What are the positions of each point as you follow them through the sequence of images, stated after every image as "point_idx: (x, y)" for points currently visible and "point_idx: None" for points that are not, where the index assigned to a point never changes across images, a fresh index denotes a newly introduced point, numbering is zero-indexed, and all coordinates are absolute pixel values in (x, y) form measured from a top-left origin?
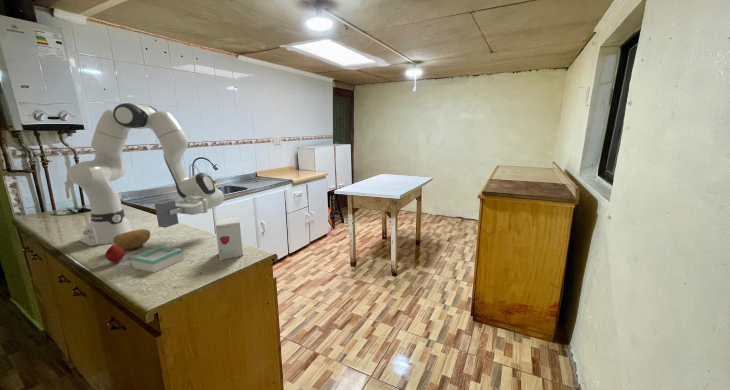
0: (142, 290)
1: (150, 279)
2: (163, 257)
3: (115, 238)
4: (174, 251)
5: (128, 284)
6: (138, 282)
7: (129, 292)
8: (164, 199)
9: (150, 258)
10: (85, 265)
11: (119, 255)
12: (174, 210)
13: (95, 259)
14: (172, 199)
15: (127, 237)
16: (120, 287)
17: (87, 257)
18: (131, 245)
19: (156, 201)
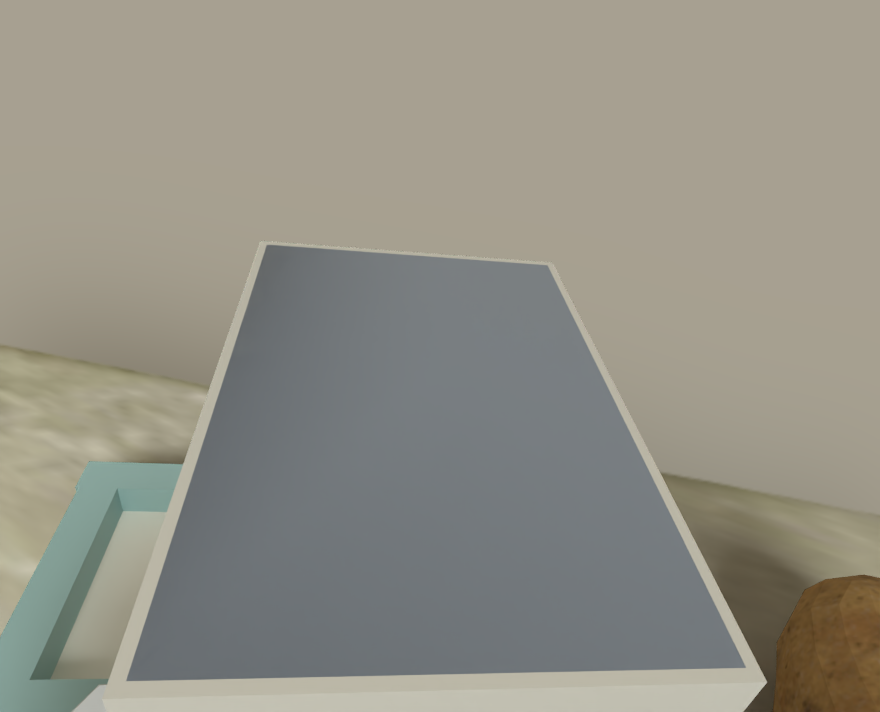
0: (14, 389)
1: (60, 462)
2: (58, 538)
3: (860, 575)
4: (11, 647)
5: (157, 407)
6: (114, 428)
7: (77, 370)
8: (619, 474)
9: (154, 484)
10: (675, 475)
11: None
12: (101, 702)
13: (754, 538)
14: (199, 566)
15: (830, 642)
16: (174, 386)
17: (845, 542)
18: (774, 706)
19: (520, 282)
